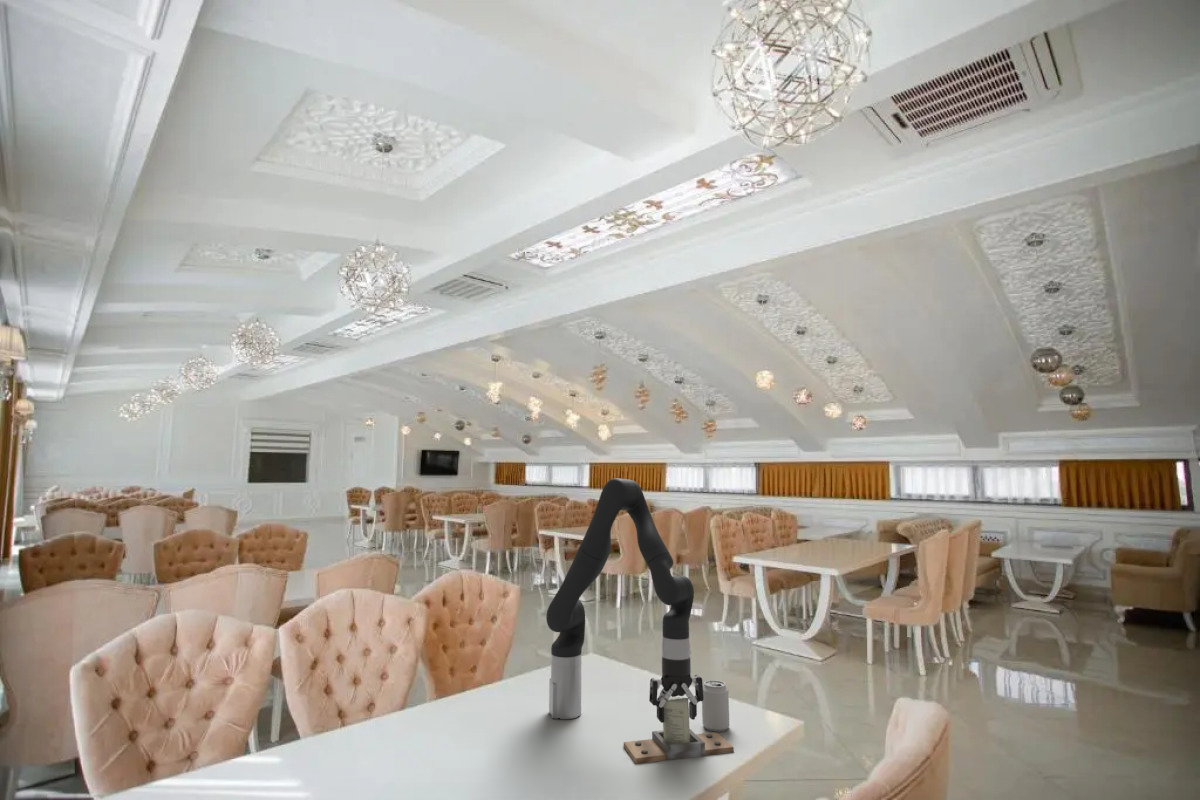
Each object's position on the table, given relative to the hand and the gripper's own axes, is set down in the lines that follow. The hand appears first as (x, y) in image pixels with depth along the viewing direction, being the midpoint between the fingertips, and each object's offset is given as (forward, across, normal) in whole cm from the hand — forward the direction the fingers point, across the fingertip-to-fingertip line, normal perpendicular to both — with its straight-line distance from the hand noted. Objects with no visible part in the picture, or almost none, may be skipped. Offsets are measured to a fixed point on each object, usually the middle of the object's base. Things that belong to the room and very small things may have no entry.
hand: (676, 720), depth 155 cm
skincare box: (+7, 0, 0) cm, 7 cm away
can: (+7, -16, -11) cm, 21 cm away
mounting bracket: (+7, 0, 0) cm, 7 cm away
